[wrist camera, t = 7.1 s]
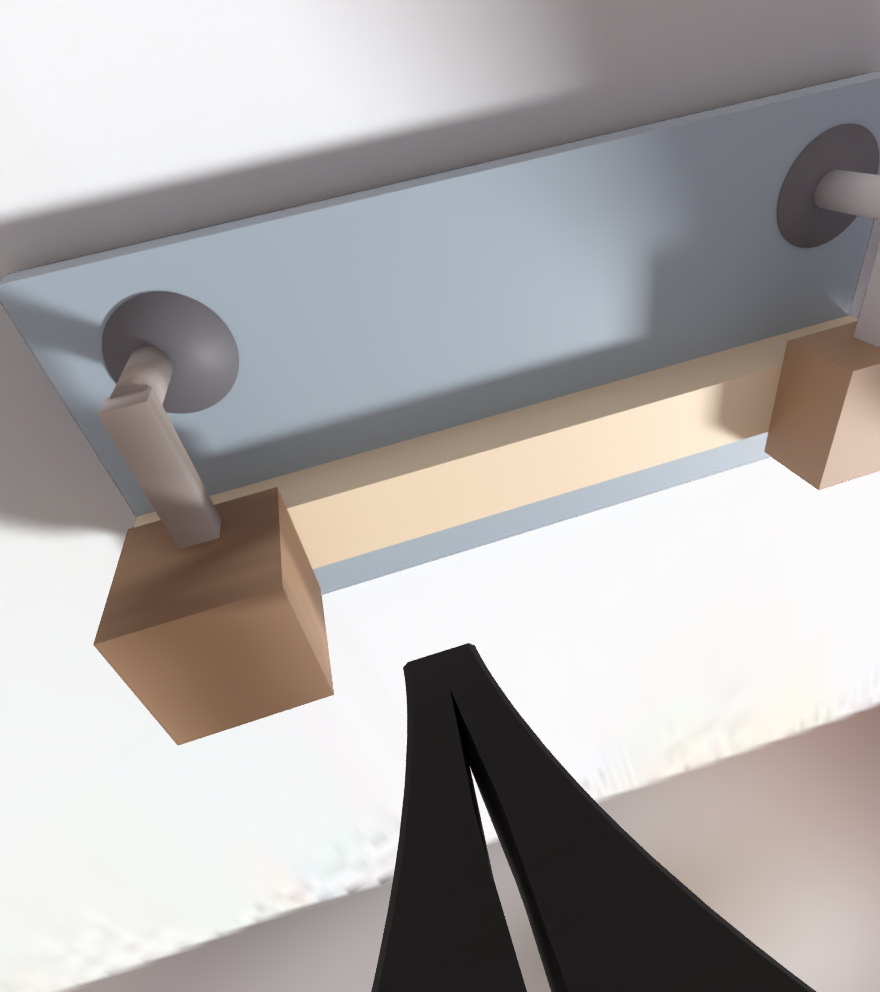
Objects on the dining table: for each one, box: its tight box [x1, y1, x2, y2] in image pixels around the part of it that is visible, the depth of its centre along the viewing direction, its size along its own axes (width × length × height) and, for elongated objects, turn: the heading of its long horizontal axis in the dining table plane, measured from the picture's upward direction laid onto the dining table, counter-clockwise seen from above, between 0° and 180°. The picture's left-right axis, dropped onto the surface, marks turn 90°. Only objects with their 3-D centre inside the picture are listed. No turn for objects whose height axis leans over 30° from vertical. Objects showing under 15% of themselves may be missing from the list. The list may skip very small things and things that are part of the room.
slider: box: [93, 346, 334, 745], centre depth 14 cm, size 4×8×6 cm, turn 8°
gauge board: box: [0, 71, 880, 595], centre depth 17 cm, size 24×12×5 cm, turn 98°
